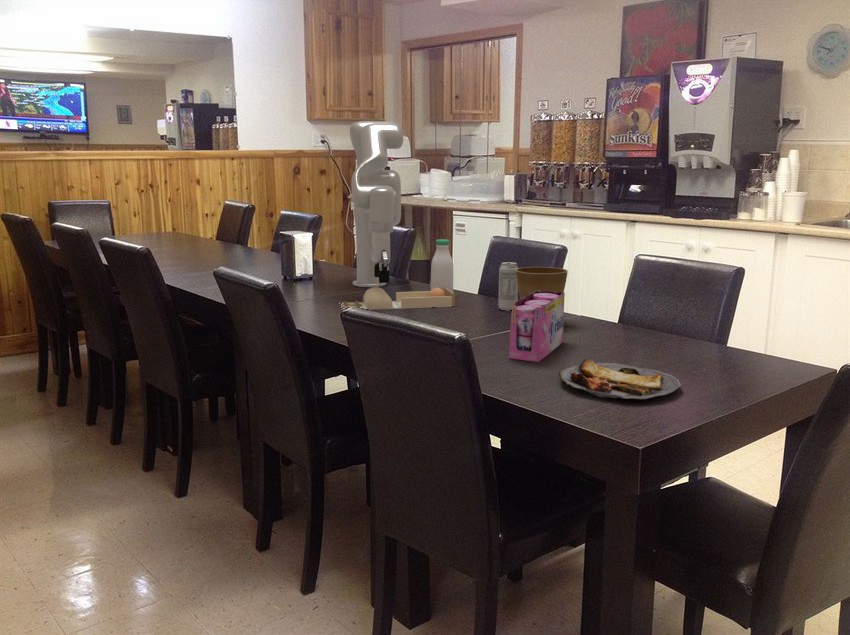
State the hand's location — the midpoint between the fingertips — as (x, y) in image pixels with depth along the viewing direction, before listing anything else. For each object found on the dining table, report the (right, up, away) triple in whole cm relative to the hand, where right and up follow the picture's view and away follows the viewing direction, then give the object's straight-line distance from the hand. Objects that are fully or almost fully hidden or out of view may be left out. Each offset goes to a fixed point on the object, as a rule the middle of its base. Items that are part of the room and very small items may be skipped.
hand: (381, 279), depth 249 cm
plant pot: (+48, -14, -23) cm, 55 cm away
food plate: (+56, -27, -83) cm, 104 cm away
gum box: (+43, -21, -53) cm, 71 cm away
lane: (+5, -11, +3) cm, 12 cm away
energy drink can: (+40, -10, -4) cm, 42 cm away
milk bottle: (+20, -6, +16) cm, 26 cm away
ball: (+18, -5, +4) cm, 19 cm away
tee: (-10, -9, -1) cm, 13 cm away
